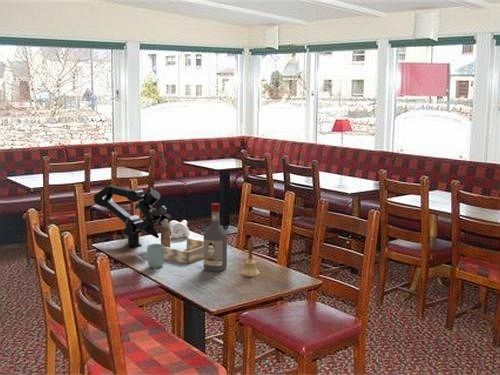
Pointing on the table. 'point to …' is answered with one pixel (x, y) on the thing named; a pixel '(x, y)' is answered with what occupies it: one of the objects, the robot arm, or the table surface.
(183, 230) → the white knot sculpture
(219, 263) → the liquor
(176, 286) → the table surface
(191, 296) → the table surface
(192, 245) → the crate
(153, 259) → the cup
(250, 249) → the hand bell
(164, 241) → the pepper mill
